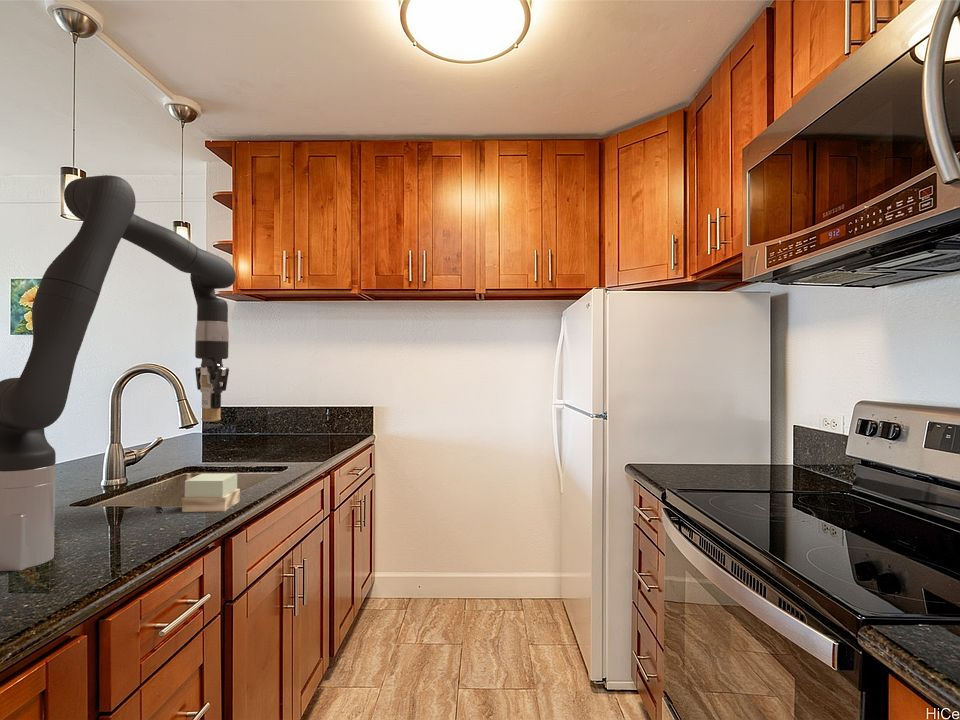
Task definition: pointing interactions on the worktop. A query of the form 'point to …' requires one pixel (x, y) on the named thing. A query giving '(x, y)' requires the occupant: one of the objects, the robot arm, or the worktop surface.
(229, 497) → the tower base
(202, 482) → the tower top
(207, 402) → the sprinkles bottle
